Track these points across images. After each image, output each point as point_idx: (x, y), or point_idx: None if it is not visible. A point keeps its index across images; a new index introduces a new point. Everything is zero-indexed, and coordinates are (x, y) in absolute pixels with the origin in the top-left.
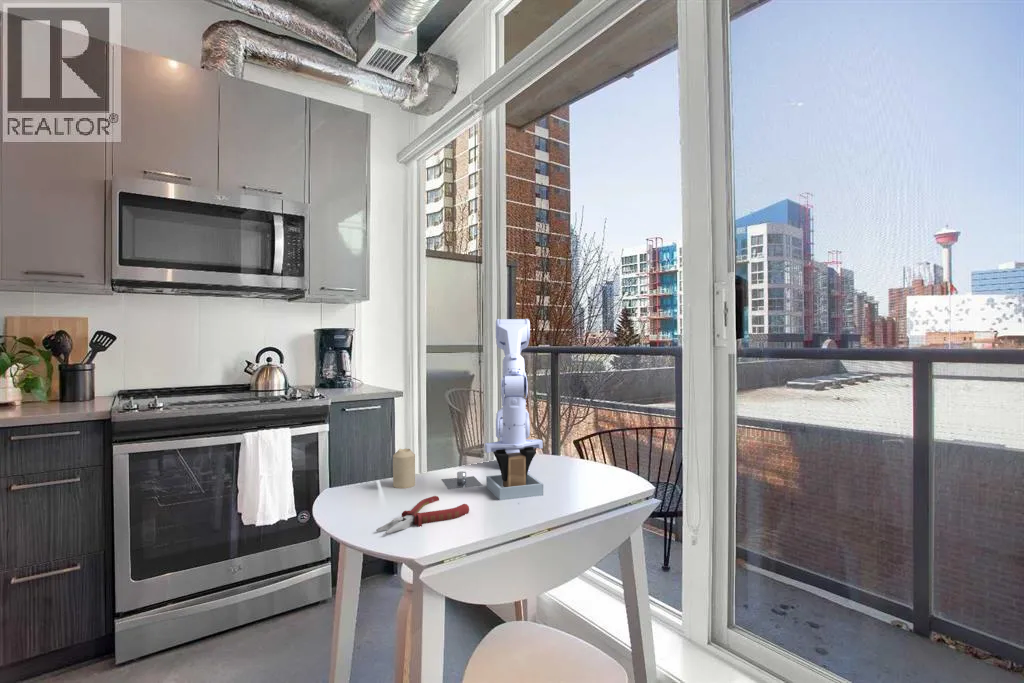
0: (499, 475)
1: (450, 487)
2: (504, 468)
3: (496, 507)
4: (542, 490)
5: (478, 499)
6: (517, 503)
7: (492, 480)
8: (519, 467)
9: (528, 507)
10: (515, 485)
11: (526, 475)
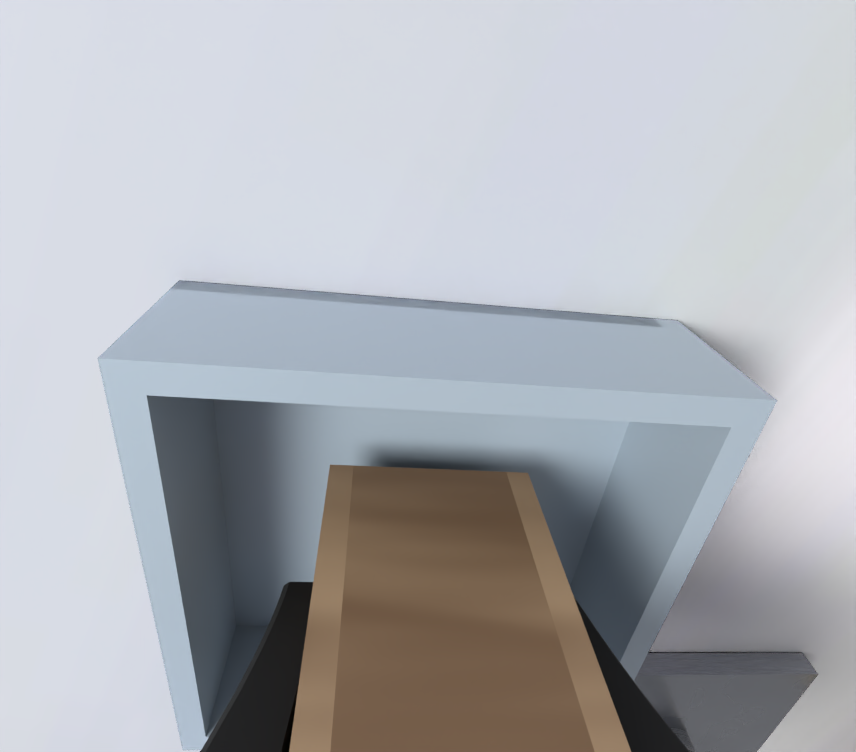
0: None
1: (784, 691)
2: (667, 748)
3: (773, 234)
4: (154, 320)
5: (746, 481)
6: (520, 256)
7: (636, 647)
8: (418, 737)
9: (479, 62)
10: (458, 504)
11: (280, 617)
